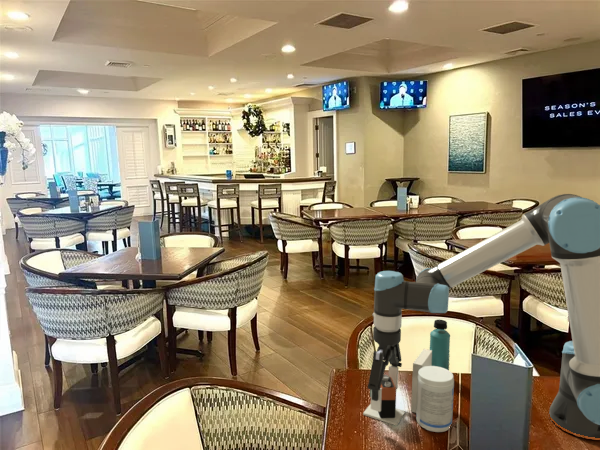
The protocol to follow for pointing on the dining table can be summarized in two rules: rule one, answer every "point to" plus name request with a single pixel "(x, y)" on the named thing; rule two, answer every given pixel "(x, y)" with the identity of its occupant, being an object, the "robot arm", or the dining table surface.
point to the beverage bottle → (440, 344)
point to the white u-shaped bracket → (420, 362)
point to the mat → (394, 421)
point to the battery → (388, 398)
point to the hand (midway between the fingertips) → (384, 398)
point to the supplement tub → (435, 398)
